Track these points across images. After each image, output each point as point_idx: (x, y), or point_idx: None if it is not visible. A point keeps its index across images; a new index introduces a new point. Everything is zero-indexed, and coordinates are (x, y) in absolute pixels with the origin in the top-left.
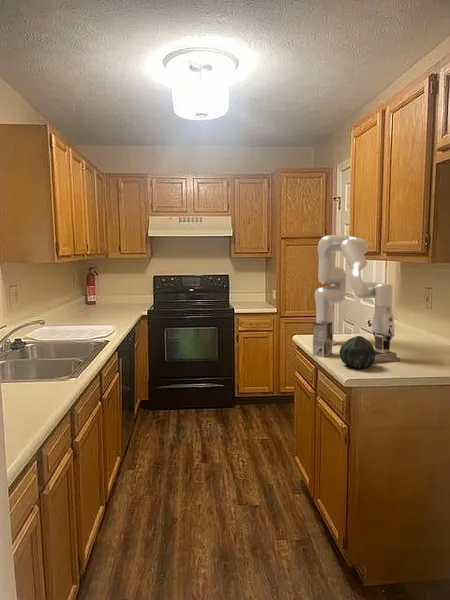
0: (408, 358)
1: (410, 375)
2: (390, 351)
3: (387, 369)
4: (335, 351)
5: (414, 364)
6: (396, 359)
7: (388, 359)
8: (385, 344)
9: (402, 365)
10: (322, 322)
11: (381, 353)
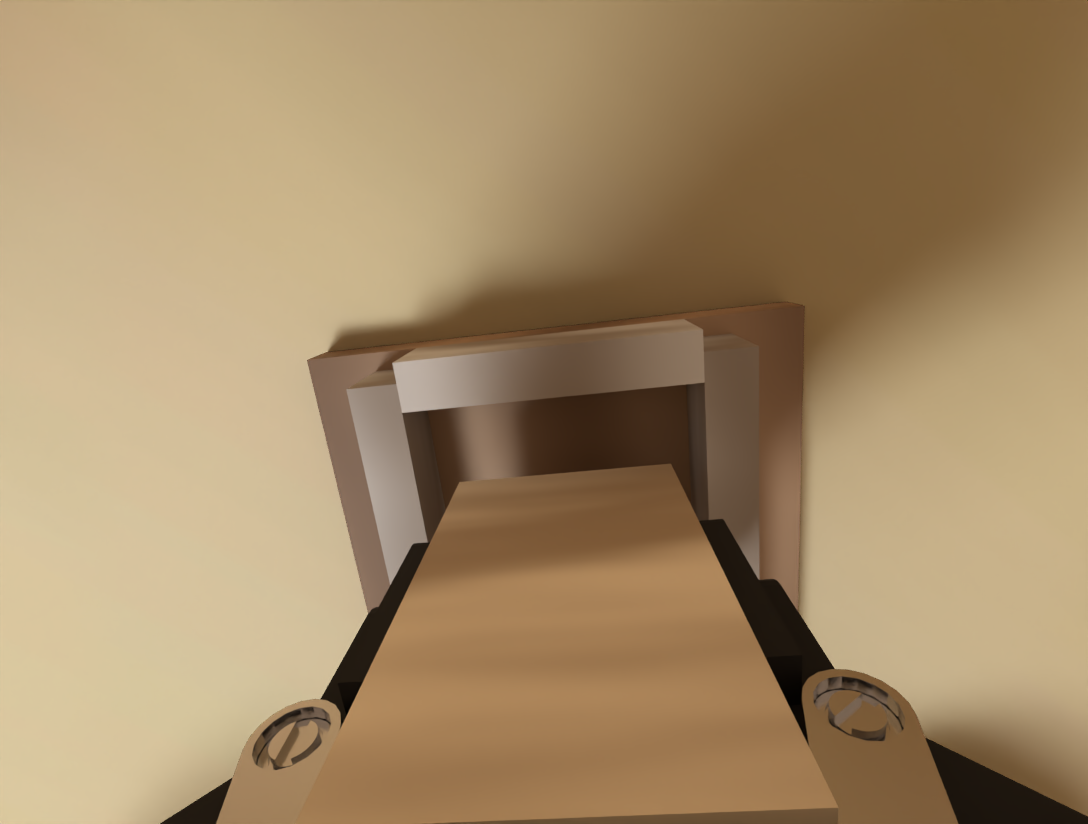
0: (694, 12)
1: None
2: (572, 362)
3: (1061, 733)
4: (60, 792)
5: (1079, 218)
6: (798, 386)
7: (787, 536)
8: None
9: (1019, 446)
10: None
11: (426, 427)
